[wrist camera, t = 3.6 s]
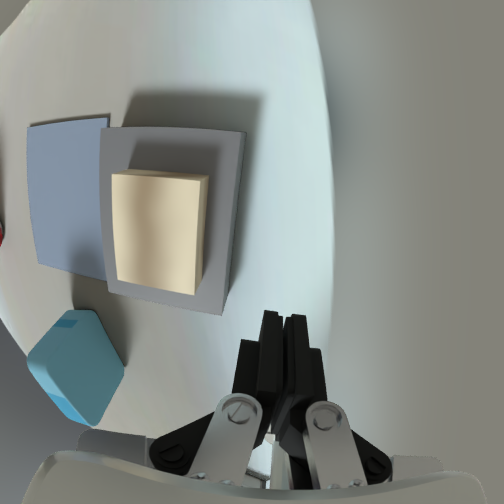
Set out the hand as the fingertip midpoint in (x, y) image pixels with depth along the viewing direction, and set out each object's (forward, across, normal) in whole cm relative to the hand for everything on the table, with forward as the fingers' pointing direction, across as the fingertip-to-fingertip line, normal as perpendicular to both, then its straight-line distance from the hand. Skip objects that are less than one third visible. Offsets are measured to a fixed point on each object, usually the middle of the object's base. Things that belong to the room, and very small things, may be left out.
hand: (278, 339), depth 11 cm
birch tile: (+10, +9, +1) cm, 14 cm away
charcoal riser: (+15, +10, +1) cm, 18 cm away
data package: (+15, +22, +21) cm, 34 cm away
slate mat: (+15, +24, +1) cm, 28 cm away
